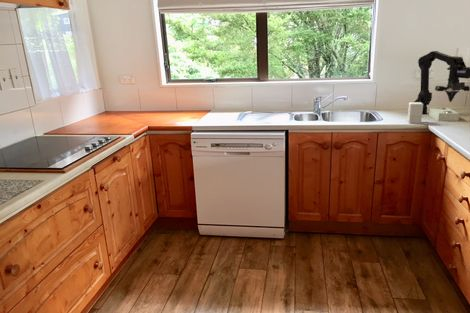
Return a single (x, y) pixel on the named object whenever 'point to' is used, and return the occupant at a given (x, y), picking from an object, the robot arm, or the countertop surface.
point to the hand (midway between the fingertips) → (450, 101)
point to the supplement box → (415, 112)
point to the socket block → (443, 114)
